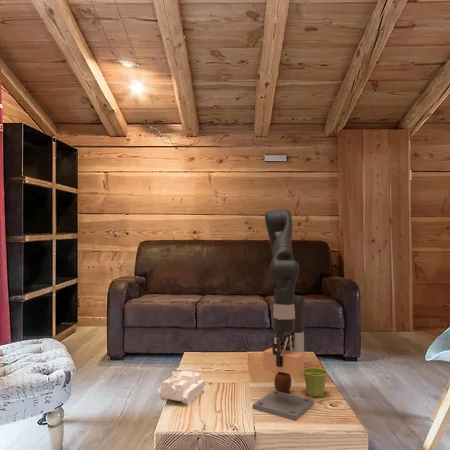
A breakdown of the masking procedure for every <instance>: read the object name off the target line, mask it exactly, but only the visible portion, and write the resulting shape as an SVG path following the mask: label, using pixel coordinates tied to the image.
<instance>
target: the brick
mask: <svg viewBox="0 0 450 450" xmlns="http://www.w3.org/2000/svg"><path fill="white" fill-rule="evenodd" d="M275 351H276V348H275ZM280 351H281V349H280ZM262 354H263V357H262V358H263V360H262V361H263V363H262V364H263V367H262V368H263V369H265V370H270V371H274V372H277V373H278V372H283V373H287V374H290V375H291V376H292V375H293V376H298V375H300V374H301V373H303V371H304V369H305V352H304V353H301V352H295V351H289V350H284V351H283V366H282V367H277V366H276V355H273V349H272V347H270V348H267V349H266V350H264V351H263V353H262Z"/></svg>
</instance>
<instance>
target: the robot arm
mask: <svg viewBox="0 0 450 450" xmlns="http://www.w3.org/2000/svg"><path fill="white" fill-rule="evenodd" d="M264 221H265V226H266V231H267V236H268V239H269V244H270V249H271V254H272V255H271V256H272V260H271V262H270V263H269V264H270V265H269V272H268V273H269V276H270V277H271V278H272V279H273V280H275V281H276V283H277V284H276V285H277V286H276V287H275V288H274V292H273V295H274V296H273V302H274V303H273V315H272V316H273V317H272V318H273V320H272V321H273V322H272V323H273V325H272V327H273V330H274V331H276V337H272V339H271V345H272V347H271V348H272V349H273V355H276V366H277V367H282V366H283V351H284V350H289V351H295V352H301V353H304V354H305V314H306V313H305V311H306V301H305V300H306V299H305V298H304V296H302V295H295V289H296V285H297V280H298V277H299V274H300V265H299V263H298V261H296V260H295V257H294V255H293V248H292V247H293V246H292V238H293V216H292V214H291V211H290V210H289V209H287V208H284V209H283V208H282V209H277V210H271V211H267V212H265V216H264ZM277 233H279V234H278V236H277ZM275 348H276V351H275ZM280 349H281V351H280Z"/></svg>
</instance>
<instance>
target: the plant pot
mask: <svg viewBox="0 0 450 450" xmlns="http://www.w3.org/2000/svg"><path fill="white" fill-rule="evenodd" d="M302 373H303V376H304V379H305V386H306V387H305V388H306V393H307V395H308V396H309V395H310V397H312V396H313V398H315V397H316V398H317V397H319V398H322V397H323V396H324V393H325V386H326V385H325V384H326V380H327V379H326V378H327V376H328V374H329V372H328V371H327V370H326V369H324V368H319V367H306V368H305V367H304V371H303V372H302Z"/></svg>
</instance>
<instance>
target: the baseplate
mask: <svg viewBox="0 0 450 450" xmlns="http://www.w3.org/2000/svg"><path fill="white" fill-rule="evenodd" d="M313 404H315V399H312V398H309V397H308V396H307V397H306V396H304V397H303V396H300V395H296V394H295V395H294V394H292V393H291V394H290V393H289V392H288V393H283V392H279V391H278V390H276V389H274V390H272V391H271V392H269V393H267V394H265V395H264V396H262V397H261V398H259V399H258V400H257V401H255V402H254V403H252V410H256V411H260V412H264V413H267V414H271V415H273V416H278V417H280V418H285V419H289V420H293V421H297V420H298V419H299V418H300V417H301V416H303V415H304V414H305V413H306V412H307V411H308V410H309V409H310V408H311V407H313V406H314V405H313Z"/></svg>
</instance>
